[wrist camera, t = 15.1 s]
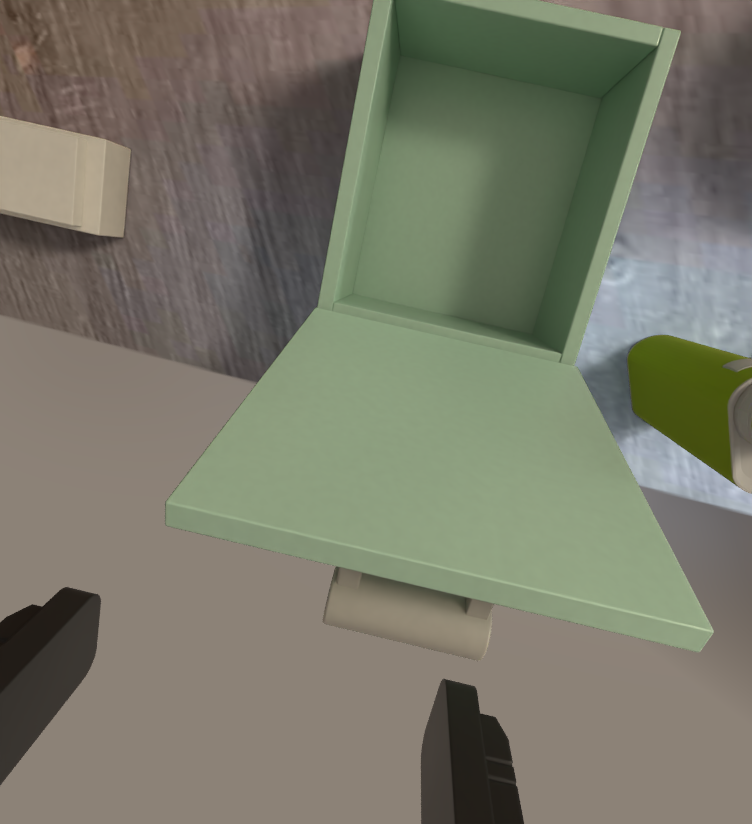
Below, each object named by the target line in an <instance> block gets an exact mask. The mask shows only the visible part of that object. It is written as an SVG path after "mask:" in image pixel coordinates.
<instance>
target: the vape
mask: <svg viewBox="0 0 752 824" xmlns="http://www.w3.org/2000/svg"><path fill="white" fill-rule="evenodd" d="M627 367H628V377H629V386H630V395H631V404H632V410H633V412H634V413H635V414H636V415H637V416H638V417H640V418H641V419H643V420H644V421H645V422H647V423H648V424H650V425H651V426H652V427H654V428H655V429H657V430H658V431H660V432H661V433H662V434H664V435H665V436H667V437H668V438H670V439H671V440H672V441H674V442H675V443H677V444H678V445H680V446H681V447H682V448H684V449H685V450H687V451H688V452H690V453H691V454H692V455H694V456H695V457H697V458H698V459H699V460H701V461H702V462H704V463H705V464H707V465H708V466H709V467H711V468H712V469H714V470H715V471H717V472H718V473H719V474H721V475H722V476H724V477H725V478H727V479H728V480H729V481H731V482H732V483H734V484H735V485H736V486H738V487H739V488H741V489H742V490H744V491H746V492H748V493H751V494H752V359H750V358H747V357H743V356H740V355H736V354H733V353H729V352H726V351H722V350H719V349H715V348H712V347H708V346H705V345H701V344H698V343H694V342H691V341H687V340H684V339H680V338H677V337H673V336H669V335H655V336H651V337H647V338H645V339H643V340H641V341H639V342H638V343H636V344H635V345H634V346H633V347H632V348H631V349H630V351H629V353H628V355H627Z"/></svg>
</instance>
